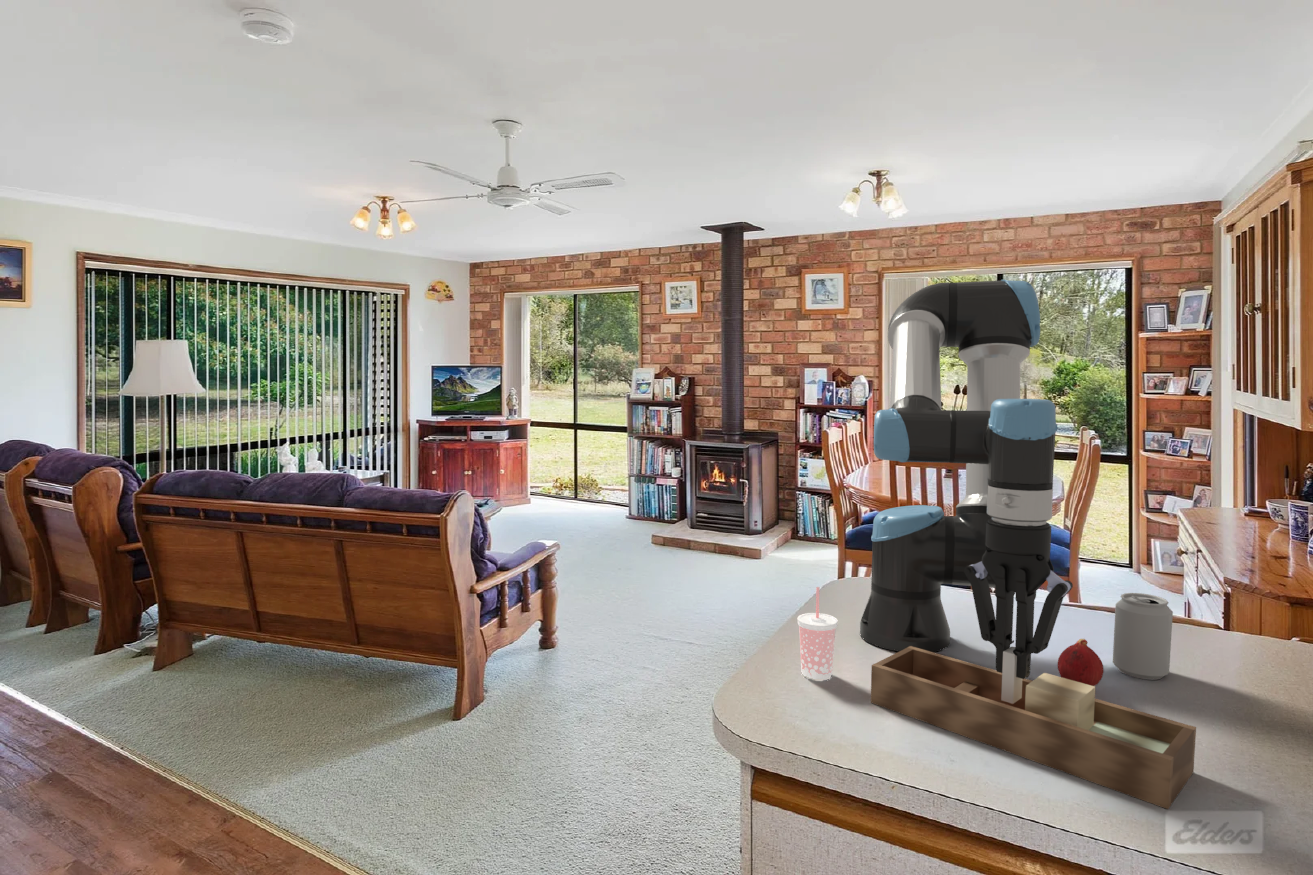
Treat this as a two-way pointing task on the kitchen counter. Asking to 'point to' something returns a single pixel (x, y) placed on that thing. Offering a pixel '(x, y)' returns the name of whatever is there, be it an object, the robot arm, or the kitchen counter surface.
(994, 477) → the robot arm
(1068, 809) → the kitchen counter surface
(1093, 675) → the onion
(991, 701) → the wooden compartment tray
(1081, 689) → the maple block
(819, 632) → the beverage cup
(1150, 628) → the can
